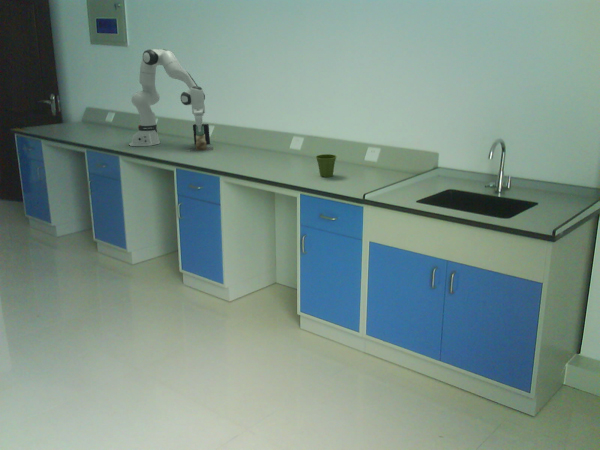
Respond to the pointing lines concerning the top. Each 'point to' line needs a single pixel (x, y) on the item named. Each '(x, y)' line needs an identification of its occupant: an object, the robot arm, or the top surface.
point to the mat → (201, 150)
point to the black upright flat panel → (206, 132)
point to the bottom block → (201, 146)
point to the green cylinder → (200, 132)
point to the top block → (200, 139)
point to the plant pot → (326, 164)
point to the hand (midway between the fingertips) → (200, 130)
